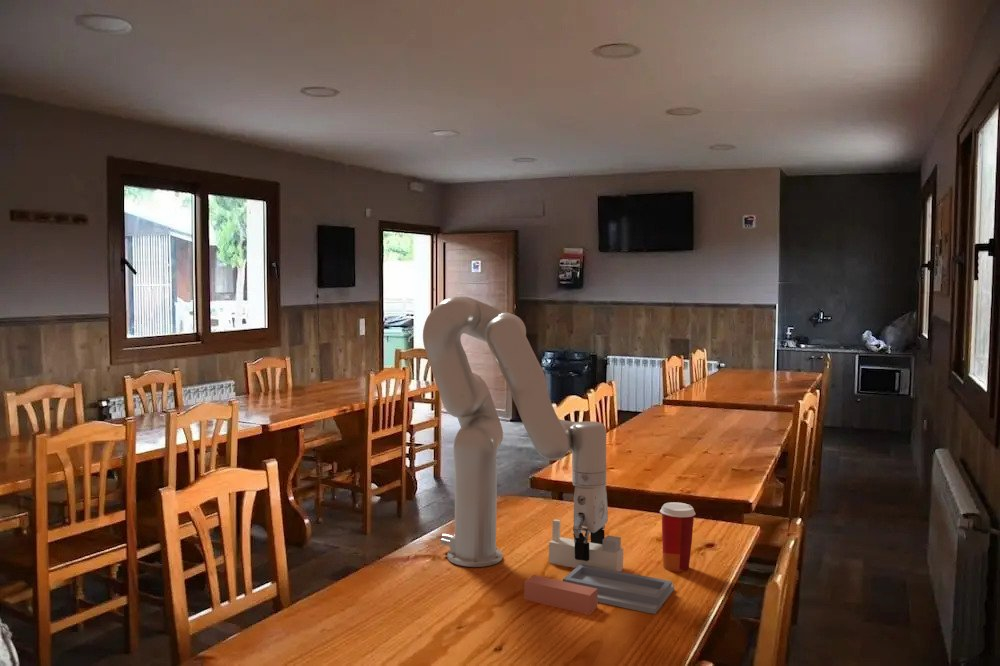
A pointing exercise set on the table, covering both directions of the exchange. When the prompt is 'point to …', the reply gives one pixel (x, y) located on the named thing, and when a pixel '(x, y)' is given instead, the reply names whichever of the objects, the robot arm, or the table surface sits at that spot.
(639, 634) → the table surface
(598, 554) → the white notched block
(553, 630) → the table surface
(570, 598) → the block
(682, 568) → the paper cup
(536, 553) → the table surface
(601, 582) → the tray
